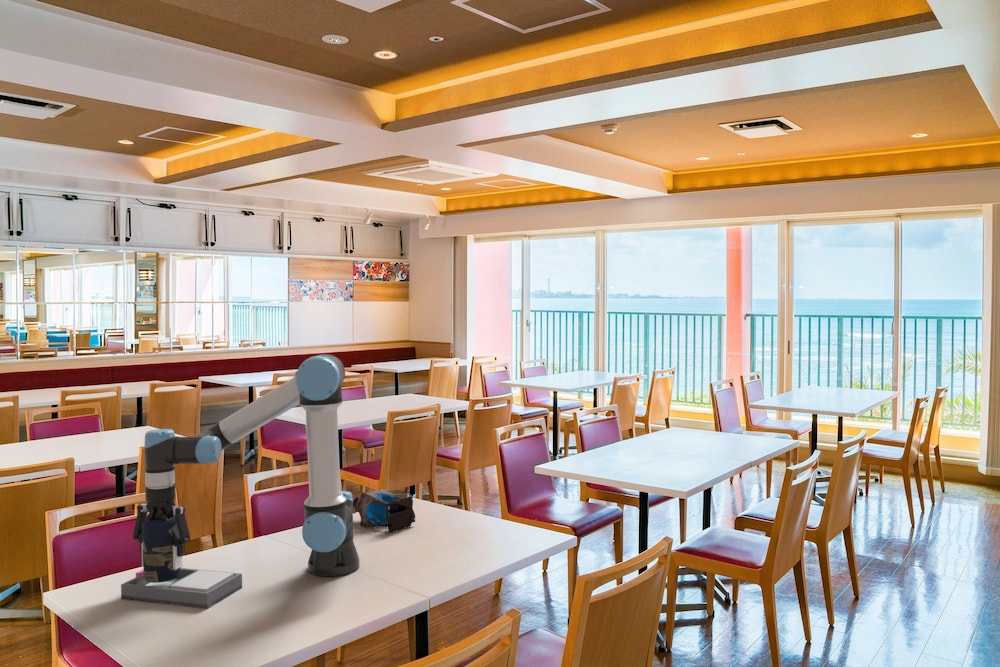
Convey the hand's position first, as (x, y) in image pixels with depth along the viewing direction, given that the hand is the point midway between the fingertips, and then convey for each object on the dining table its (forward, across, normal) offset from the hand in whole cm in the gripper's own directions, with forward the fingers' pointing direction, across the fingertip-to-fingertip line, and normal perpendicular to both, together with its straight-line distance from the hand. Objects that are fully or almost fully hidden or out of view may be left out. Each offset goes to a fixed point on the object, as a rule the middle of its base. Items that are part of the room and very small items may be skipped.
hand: (162, 566), depth 204 cm
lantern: (+7, -32, -73) cm, 80 cm away
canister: (+4, 0, 0) cm, 4 cm away
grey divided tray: (+7, -6, 0) cm, 10 cm away
